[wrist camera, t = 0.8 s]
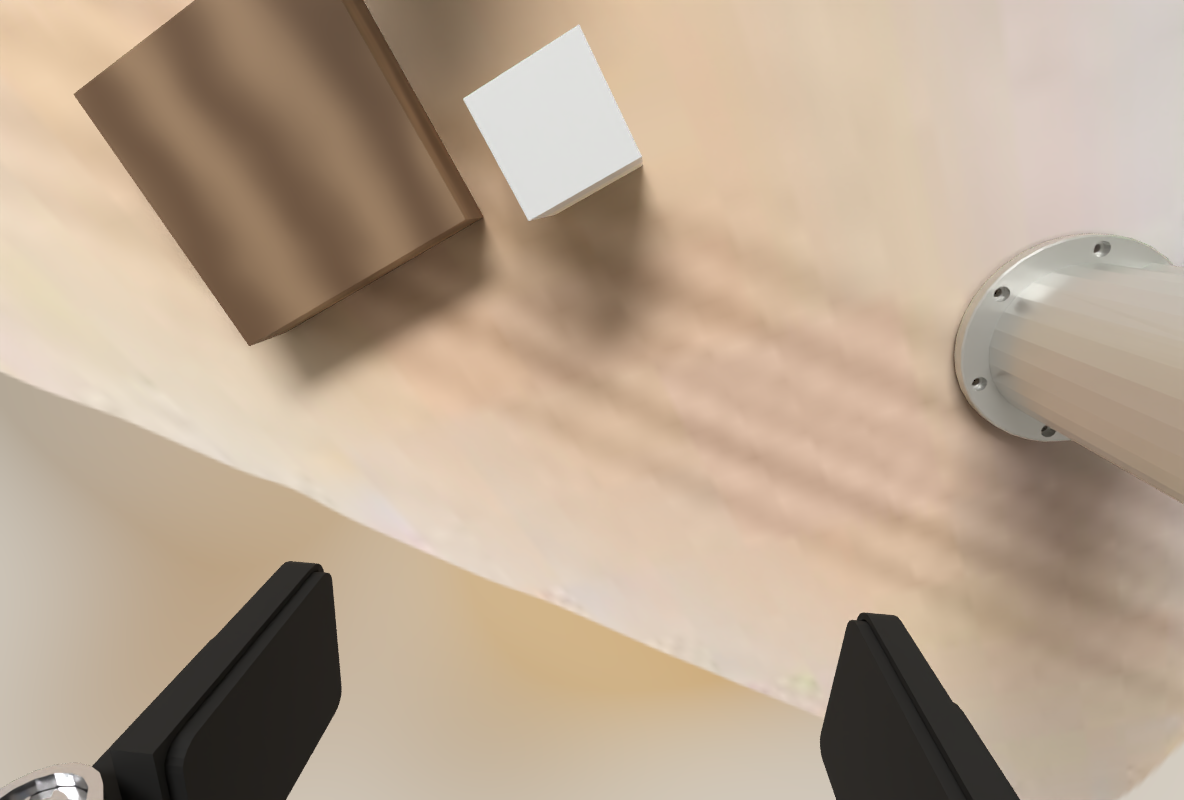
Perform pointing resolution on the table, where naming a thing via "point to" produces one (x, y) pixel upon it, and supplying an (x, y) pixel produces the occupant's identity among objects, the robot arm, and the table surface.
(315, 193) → the walnut stand
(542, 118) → the white rectangular block
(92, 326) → the table surface
